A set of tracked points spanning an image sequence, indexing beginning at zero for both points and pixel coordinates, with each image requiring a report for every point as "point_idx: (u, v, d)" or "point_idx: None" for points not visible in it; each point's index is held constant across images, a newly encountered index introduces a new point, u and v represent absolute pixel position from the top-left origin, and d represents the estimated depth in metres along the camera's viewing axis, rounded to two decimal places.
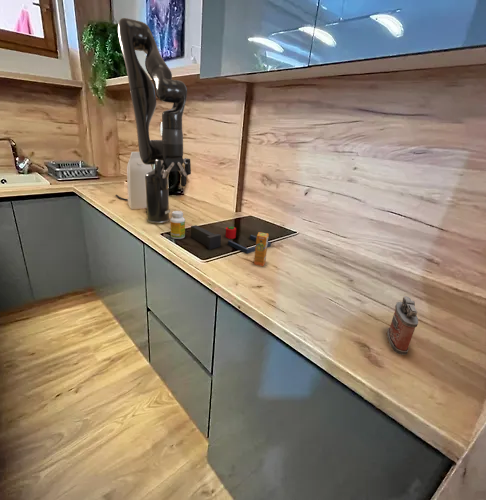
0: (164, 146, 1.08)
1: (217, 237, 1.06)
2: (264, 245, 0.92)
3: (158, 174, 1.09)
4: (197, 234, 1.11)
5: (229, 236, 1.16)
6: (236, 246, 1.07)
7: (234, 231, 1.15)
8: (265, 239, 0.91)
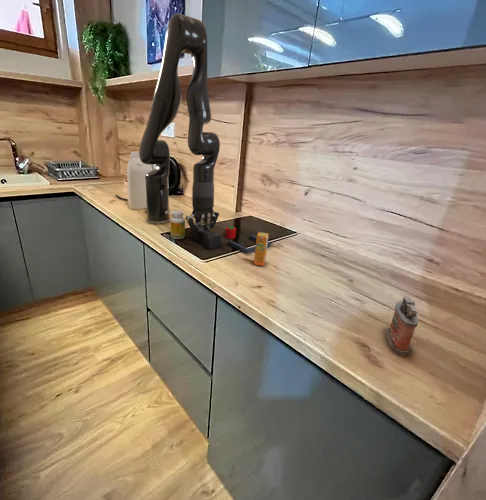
0: (195, 199, 1.03)
1: (217, 237, 1.06)
2: (264, 245, 0.92)
3: (194, 229, 1.06)
4: None
5: (229, 236, 1.16)
6: (236, 246, 1.07)
7: (234, 231, 1.15)
8: (265, 239, 0.91)
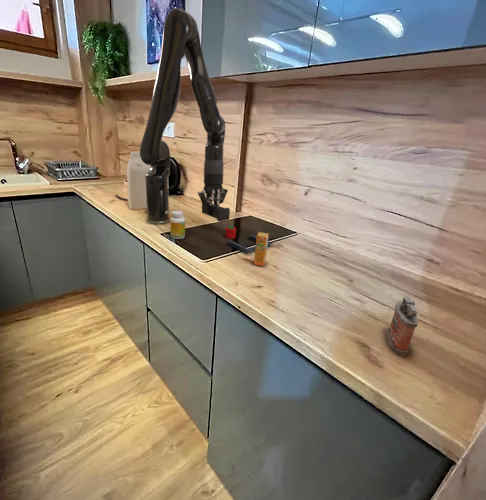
0: (206, 175, 1.15)
1: (226, 210, 1.17)
2: (264, 245, 0.92)
3: (206, 204, 1.18)
4: None
5: (229, 236, 1.16)
6: (236, 246, 1.07)
7: (234, 231, 1.15)
8: (265, 239, 0.91)
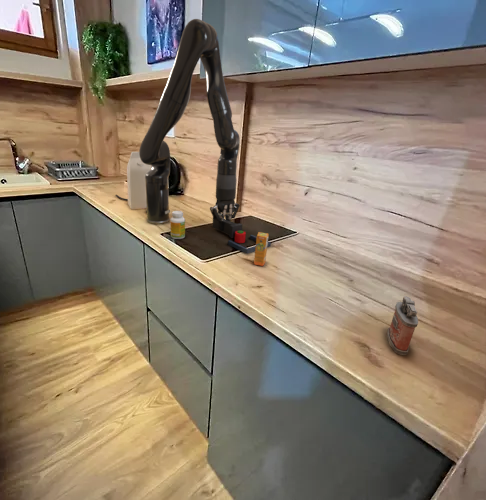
0: (219, 190, 1.11)
1: (239, 226, 1.14)
2: (264, 245, 0.92)
3: (218, 219, 1.15)
4: None
5: (238, 240, 1.12)
6: (236, 246, 1.07)
7: (244, 235, 1.11)
8: (265, 239, 0.91)
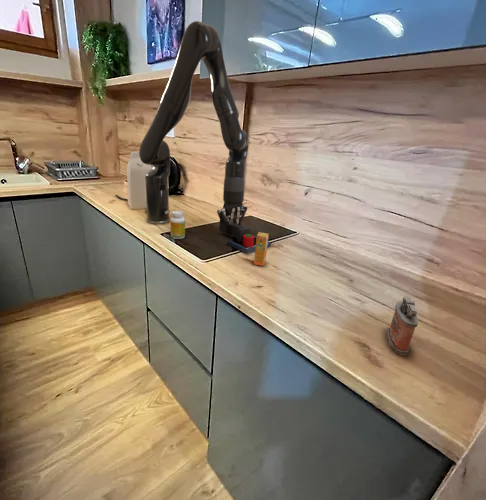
0: (226, 193, 1.08)
1: (247, 230, 1.11)
2: (264, 245, 0.92)
3: (225, 222, 1.12)
4: None
5: (247, 244, 1.09)
6: (236, 246, 1.07)
7: (252, 239, 1.08)
8: (265, 239, 0.91)
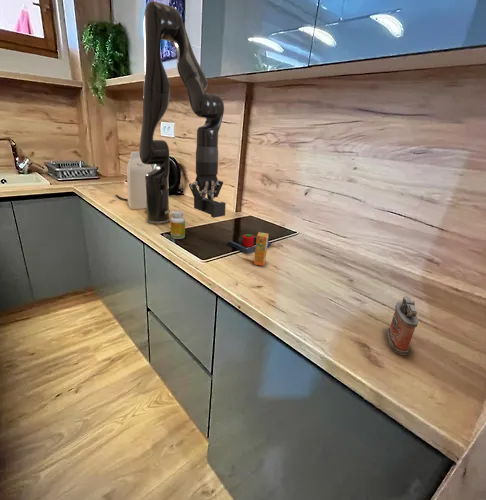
0: (198, 164, 1.00)
1: (222, 205, 1.02)
2: (264, 245, 0.92)
3: (198, 197, 1.03)
4: None
5: (247, 244, 1.09)
6: (236, 246, 1.07)
7: (252, 239, 1.08)
8: (265, 239, 0.91)
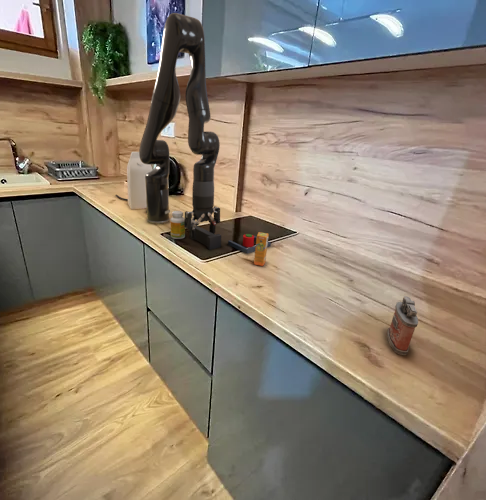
0: (195, 198, 1.03)
1: (217, 237, 1.05)
2: (264, 245, 0.92)
3: (188, 226, 1.04)
4: (198, 234, 1.11)
5: (247, 244, 1.09)
6: (236, 246, 1.07)
7: (252, 239, 1.08)
8: (265, 239, 0.91)
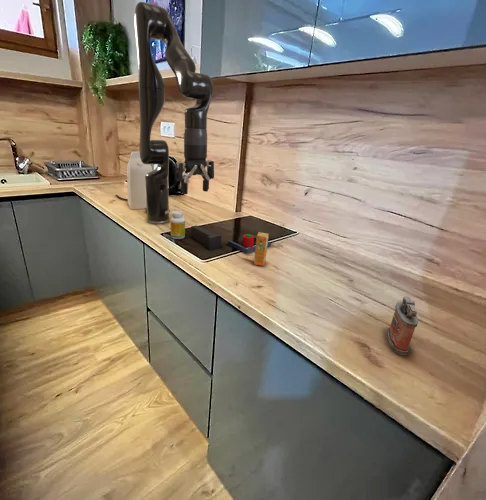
0: (187, 147, 0.97)
1: (217, 237, 1.05)
2: (264, 245, 0.92)
3: (180, 178, 0.98)
4: (198, 234, 1.11)
5: (247, 244, 1.09)
6: (236, 246, 1.07)
7: (252, 239, 1.08)
8: (265, 239, 0.91)
